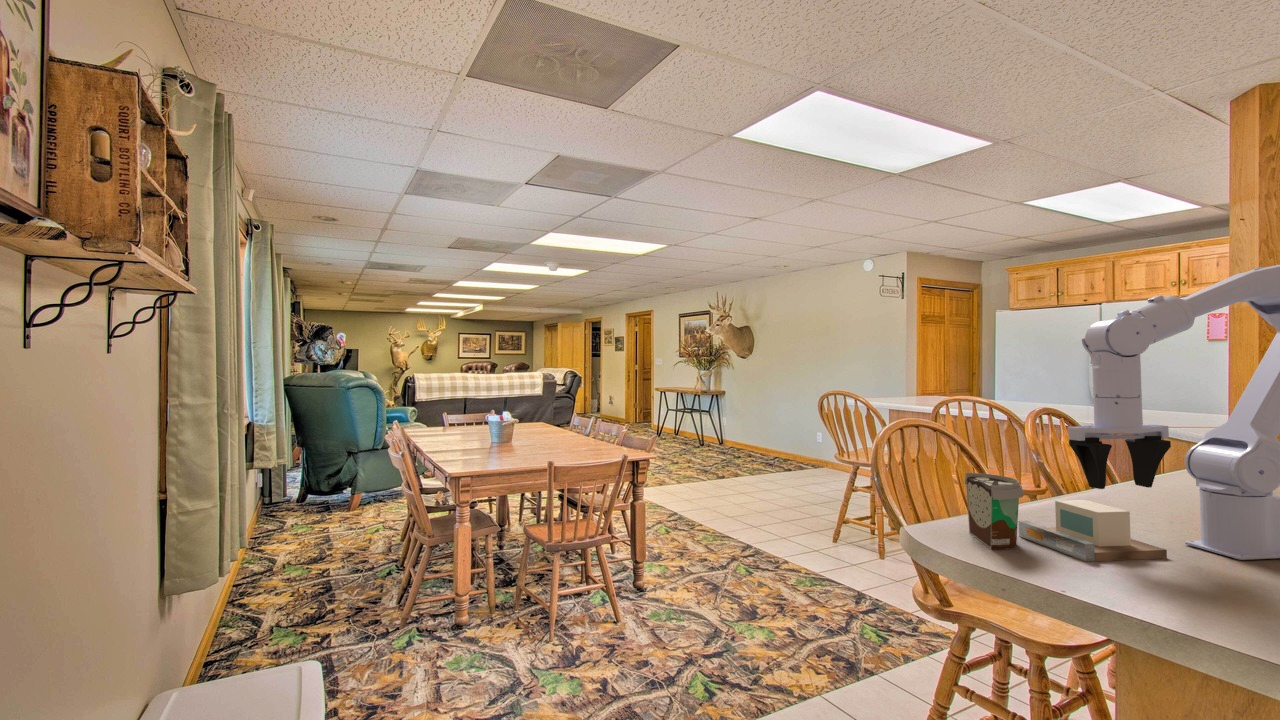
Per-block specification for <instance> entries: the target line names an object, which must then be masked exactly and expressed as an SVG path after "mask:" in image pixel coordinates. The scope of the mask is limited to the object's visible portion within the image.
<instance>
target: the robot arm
mask: <svg viewBox="0 0 1280 720" xmlns="http://www.w3.org/2000/svg"><path fill="white" fill-rule="evenodd" d="M1146 301H1147V304H1144V305H1141V306H1138V307H1137V308H1134V309H1132V310H1129V309H1125V310H1120V311H1119V312H1117V314H1116V315H1117V316H1116V317H1115V318H1112V319H1105V320H1099V321H1096V322H1094V323H1092V324H1091V325H1090V326H1089V328H1088V329H1087V330H1086V332H1085V336H1084V337H1083V338H1081V344H1082V347H1083V349H1085V351H1086V352H1087V354H1089V357H1090V364H1091V366H1092V369H1091V371H1092V394H1093V424H1092V423H1091V424H1090V425H1080V426H1067V427H1068V445H1069V447H1070V448H1071V450H1072V451H1073V453H1074V454H1075V455H1076V457H1077V458H1078V461H1079V462H1080V465H1081V467H1082V469H1083V471H1084V474H1085V478H1086V481H1087V483H1088V486H1089V487H1090V488H1094V489H1098V490H1104V489H1105V488H1106V485H1107V484H1106V483H1107V464H1108V460H1109V459H1108V458H1109V455H1110V452H1111V449H1112V447H1113V445H1112V444H1110V443H1109V444H1108V443H1103V441H1101V440H1124V442H1125V445H1126V446H1127V448H1128V451H1129V454H1130V458H1131V463H1132V472H1133V473H1132V475H1133V481H1134V485H1135V486H1139V487H1142V488H1143V487H1144V488H1147V489H1148V488H1152V487H1153V484H1154V482H1155V481H1154V480H1155V478H1156V474H1157V471H1158V468H1159V466H1160V464H1161V462H1162V460H1163V458H1164V456H1165V455H1166V453H1167V452H1168V451H1169V450H1170V449H1171V448H1172V445H1171V442H1172V441H1171V440H1167V439H1170V438H1169V437H1170V433H1169V430H1170V429H1169V425H1162V424H1161V425H1160V424H1144V423H1143V422H1144V420H1143V397H1142V396H1143V395H1142V369H1141V367H1142V366H1141V365H1142V364H1141V355H1142V354H1143V353H1144V352H1146V351H1147V350H1148V349H1149V347H1150V346H1151V345H1153V344H1155V343H1158V342H1161V341H1163V340H1165V339H1168V338H1171V337H1173V336H1175V335H1177V334H1178V335H1179V334H1181V333H1183V332H1185V331H1188V330H1189V329H1191V328H1192V327H1193V326H1194V323H1195V319H1196V318H1198V317H1200V316H1203V315H1205V314H1206V315H1207V314H1209V313H1212V312H1214V311H1218V310H1220V309H1223V308H1225V307H1228V306H1230V305H1231V306H1232V305H1234V304H1236V303H1246V304H1248V305H1249V306H1250V307H1251V308H1252V309H1253V310H1254V311H1255V312H1256V313H1257V314H1258V315H1259V316H1260V317H1261V318H1262V319H1263V320H1265V322H1266V323H1268V324H1269V325H1270V326H1272V327H1274V329H1275V330H1276V334H1275V335H1274V338H1273V339H1272V340H1271V343H1270V344H1269V346H1268V349H1267V350H1266V352H1265V353H1264V355H1263V357H1262V358H1261V360H1260V362H1259V363H1258V366H1257V367H1256V369H1255V371H1254V373H1253V375H1252V377H1251V379H1250V380H1249V382H1248V383H1247V384H1246V387H1245V389H1244V390H1243V392H1242V394H1241V396H1240V397H1239V399H1238V401H1237V403H1236V405H1235V407H1234V408H1233V410H1232V411H1231V413H1230V415H1229V417H1228V419H1227V421H1226V422H1225V423H1223V424H1221V425H1218V426H1217V427H1215V428H1212V429H1211V430H1208V431H1207V432H1205V435H1204V437H1203V438H1202V439H1201V440H1200V441H1199V442H1198V443H1197V444H1195V445H1193V446H1192V447H1190V449H1188V451H1187V452H1186V454H1185V457H1184V465H1185V466H1184V467H1185V469H1186V471H1187V473H1188V474H1189V475H1190V477H1192V478H1193V479H1194V480H1195V486H1196V487H1198V488H1199V489H1198V490H1199V491H1198V493H1199V518H1200V520H1199V521H1200V539H1199V540H1185V541H1184V544H1185V545H1186V546H1187V545H1188V546H1191V547H1195V548H1198V549H1202V550H1205V551H1207V552H1208V551H1209V552H1212V553H1215V554H1219V555H1222V556H1226V557H1229V558H1233V559H1235V560H1242V561H1245V560H1265V559H1266V560H1267V559H1268V560H1269V559H1280V496H1278V495H1277V494H1275V493H1273V491H1275V490H1277V489H1278V488H1279V487H1280V440H1279V439H1278V436H1279V435H1280V264H1277V265H1272V266H1261V267H1256V268H1253V269H1251V270H1248V271H1244V272H1240V273H1237V274H1234V275H1231V276H1229V277H1227V278H1225V279H1223V280H1220V281H1219V282H1216V283H1214V284H1211V285H1209V286H1206V287H1204V288H1202V289H1201V290H1198V291H1196V292H1194V293H1192V294H1190V295H1187V296H1185V297H1183V298H1181V297H1177V296H1173V295H1167V296H1166V295H1165V296H1163V295H1156V296H1152V297H1150V298H1148V299H1147V300H1146ZM1113 434H1115V435H1113ZM1117 434H1118V435H1117ZM1119 434H1121V435H1119Z"/></svg>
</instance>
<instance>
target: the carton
mask: <svg viewBox="0 0 1280 720" xmlns="http://www.w3.org/2000/svg"><path fill="white" fill-rule="evenodd" d="M1054 503H1055V504H1054V505H1055V509H1054V510H1055V528H1056V531H1059V532H1062V533H1065V534H1068V535H1070V536H1073V537H1076V538H1079V539H1082V540H1085V541H1088V542H1091V543H1094V545H1096V546H1099V547H1101V546H1127V545H1131V539H1132V538H1131V517H1130V515H1131V513H1130V512H1131V511H1130V510H1126V509H1123V508H1118V507H1114V506H1111V505H1110V506H1109V505H1106V504H1102V503H1098V502H1095V501H1091V500H1087V499H1072V500H1071V499H1070V500H1069V499H1066V500H1055V501H1054Z"/></svg>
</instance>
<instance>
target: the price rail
mask: <svg viewBox="0 0 1280 720" xmlns="http://www.w3.org/2000/svg"><path fill="white" fill-rule="evenodd" d="M1050 528H1051V527H1046V526H1045V525H1040V524H1037V523H1035V522H1033V521H1029V520H1019V521H1018V536H1019V537H1020V538H1022V539H1026V540H1029V541H1031V542H1033V543H1035V544H1039V545H1041V546H1044V547H1047V548H1048V549H1052V550H1054V551H1057V552H1059V553H1062V554H1063V555H1064V554H1065V555H1066V556H1067V555H1068V556H1070V557H1073V558H1075V559H1078V560H1081V561H1083V562H1086V563H1087V562H1096V561H1095V553H1094V543H1091V542H1088V541H1085V540H1082V539H1079V538H1076V537H1073V536H1070V535H1068V534H1065V533H1062V532H1059V531H1056V530H1053V529H1050Z"/></svg>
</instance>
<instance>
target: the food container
mask: <svg viewBox="0 0 1280 720" xmlns="http://www.w3.org/2000/svg"><path fill="white" fill-rule="evenodd" d="M964 485H965V486H966V487H965V488H966V500H967V517H968V529H969V530H968V533H969V534H970V535H971V536H972V537H974V538H975V539H977V540H978V541H979V543H980V542H981V543H982V544H983V545H984V546H985V547H987V548H988V549H990V550H991V551H1004V550H1010V549H1014V548H1015V547H1017V544H1018V541H1017V540H1018V525H1019V521H1018V520H1019V504H1020V503H1019V501H1020V500H1019V499H1021V498H1023V497H1024V496H1025V494H1024V490H1023V487H1022V484H1020V481H1019V480H1018V479H1016V478H1014V477H1009V476H1004V475H999V474H991V473H982V472H981V473H980V472H965V477H964Z"/></svg>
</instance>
